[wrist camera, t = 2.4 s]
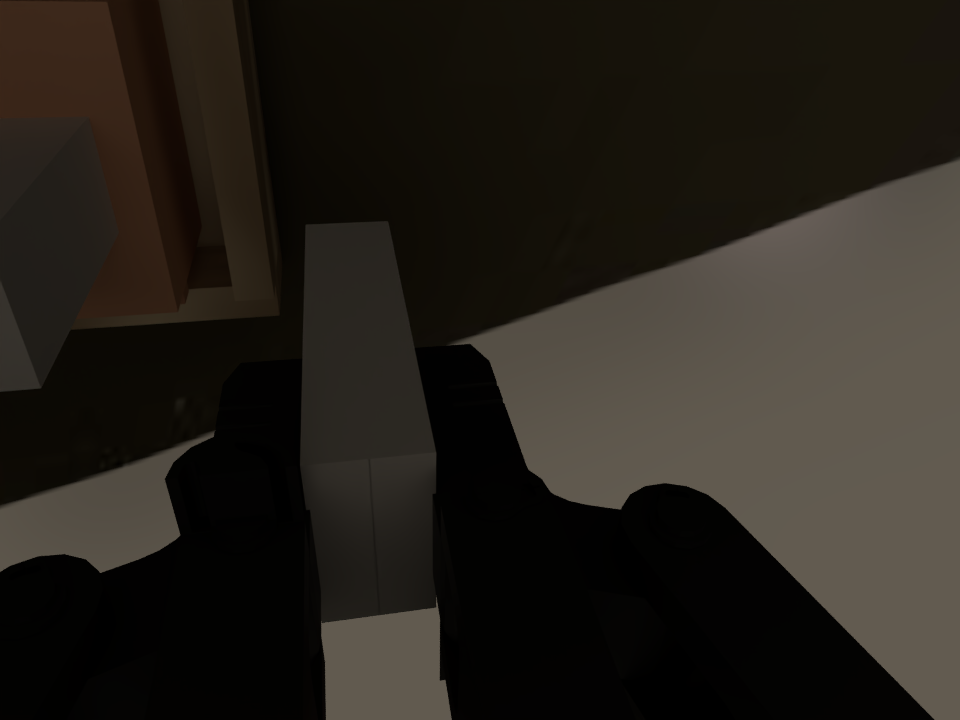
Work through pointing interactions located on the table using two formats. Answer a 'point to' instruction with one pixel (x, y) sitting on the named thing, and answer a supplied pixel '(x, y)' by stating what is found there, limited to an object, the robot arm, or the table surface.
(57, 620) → the robot arm
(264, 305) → the bay
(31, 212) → the brown block with post
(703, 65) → the table surface
